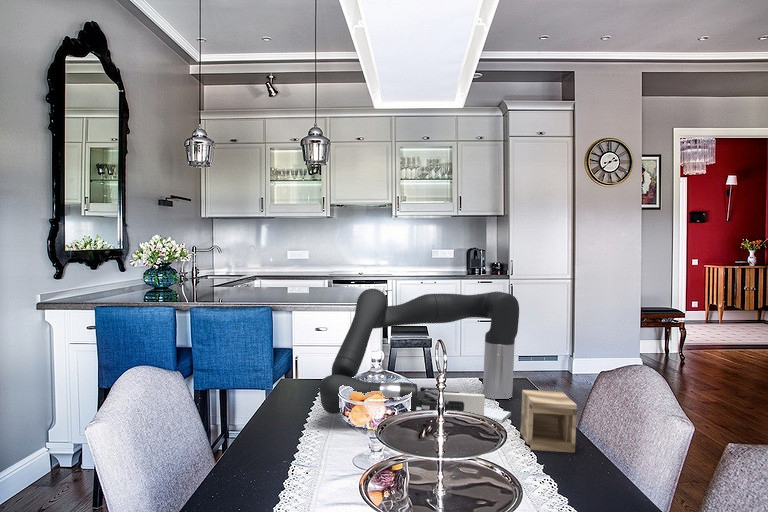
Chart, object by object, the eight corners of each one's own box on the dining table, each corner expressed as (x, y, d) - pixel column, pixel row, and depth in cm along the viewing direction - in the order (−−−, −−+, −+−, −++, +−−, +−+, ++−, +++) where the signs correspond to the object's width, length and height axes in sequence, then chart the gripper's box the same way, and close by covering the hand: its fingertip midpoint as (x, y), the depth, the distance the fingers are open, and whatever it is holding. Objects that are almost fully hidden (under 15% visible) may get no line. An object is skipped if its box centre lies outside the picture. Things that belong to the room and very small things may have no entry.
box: (520, 432, 129) (522, 389, 128) (560, 435, 128) (562, 391, 128) (531, 449, 117) (533, 402, 117) (574, 452, 117) (576, 405, 117)
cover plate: (438, 428, 129) (440, 392, 129) (482, 431, 129) (483, 394, 129) (439, 431, 128) (440, 393, 127) (483, 433, 127) (484, 396, 127)
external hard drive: (502, 425, 136) (458, 415, 142) (510, 417, 143) (469, 408, 149) (502, 419, 136) (458, 409, 142) (511, 411, 143) (469, 403, 149)
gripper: (397, 404, 136) (458, 407, 135) (396, 421, 122) (464, 425, 121) (399, 376, 136) (459, 379, 135) (398, 390, 122) (465, 394, 121)
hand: (462, 401), depth 128 cm, fingers open, 8 cm apart
